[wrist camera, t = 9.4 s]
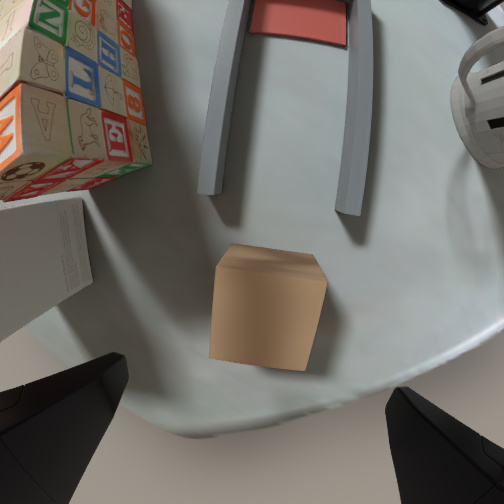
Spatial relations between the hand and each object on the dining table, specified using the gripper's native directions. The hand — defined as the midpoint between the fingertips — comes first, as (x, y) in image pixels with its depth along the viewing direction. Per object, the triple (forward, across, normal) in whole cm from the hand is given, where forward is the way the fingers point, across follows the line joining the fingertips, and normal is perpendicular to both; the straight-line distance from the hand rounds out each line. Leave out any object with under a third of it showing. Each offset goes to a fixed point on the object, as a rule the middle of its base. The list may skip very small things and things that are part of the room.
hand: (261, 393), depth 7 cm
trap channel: (+12, 0, -13) cm, 18 cm away
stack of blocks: (+12, +15, -15) cm, 25 cm away
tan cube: (+12, 0, +1) cm, 12 cm away
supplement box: (+12, +18, 0) cm, 22 cm away
